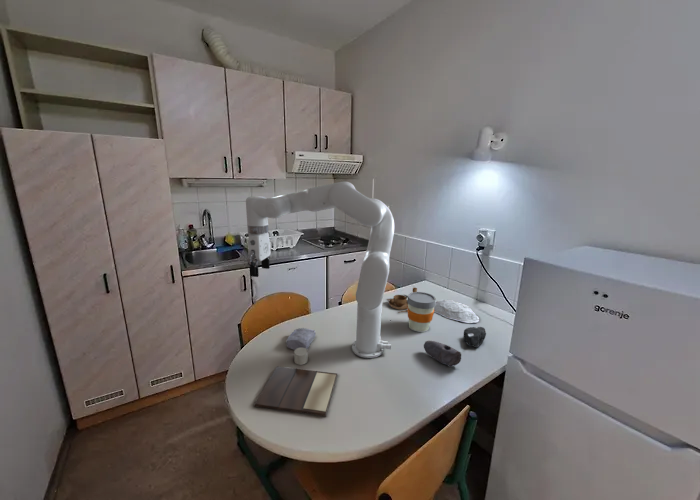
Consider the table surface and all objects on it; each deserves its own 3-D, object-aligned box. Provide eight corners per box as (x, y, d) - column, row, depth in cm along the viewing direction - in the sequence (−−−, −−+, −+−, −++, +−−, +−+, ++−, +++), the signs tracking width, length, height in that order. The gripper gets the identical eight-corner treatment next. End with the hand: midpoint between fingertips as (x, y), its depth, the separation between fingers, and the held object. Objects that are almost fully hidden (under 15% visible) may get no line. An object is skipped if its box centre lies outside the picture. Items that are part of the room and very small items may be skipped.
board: (337, 375, 104) (337, 373, 104) (325, 416, 87) (325, 413, 86) (277, 368, 107) (277, 365, 107) (254, 406, 90) (254, 403, 89)
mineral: (491, 349, 122) (493, 336, 120) (469, 349, 122) (471, 336, 120) (480, 336, 132) (482, 324, 130) (460, 336, 132) (461, 324, 130)
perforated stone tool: (419, 353, 118) (421, 337, 116) (427, 348, 122) (429, 333, 120) (453, 372, 107) (455, 356, 105) (461, 367, 111) (463, 350, 109)
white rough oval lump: (471, 326, 139) (473, 312, 138) (424, 310, 156) (425, 298, 155) (484, 318, 150) (485, 305, 149) (438, 304, 167) (439, 293, 166)
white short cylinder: (309, 357, 114) (309, 348, 113) (305, 365, 109) (305, 356, 108) (296, 355, 114) (296, 346, 113) (292, 364, 110) (292, 354, 109)
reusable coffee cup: (422, 337, 130) (425, 305, 126) (399, 325, 139) (402, 296, 135) (438, 328, 138) (441, 298, 134) (416, 317, 147) (418, 289, 143)
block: (285, 352, 119) (308, 351, 117) (282, 341, 118) (306, 340, 116) (296, 337, 131) (317, 336, 128) (294, 327, 130) (315, 326, 127)
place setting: (382, 299, 166) (383, 290, 164) (414, 296, 172) (415, 286, 170) (396, 314, 150) (397, 303, 148) (431, 309, 156) (432, 299, 154)
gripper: (256, 234, 104) (259, 280, 108) (276, 226, 120) (278, 266, 125) (236, 233, 105) (240, 279, 109) (259, 225, 121) (261, 264, 126)
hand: (260, 272), depth 117 cm, fingers open, 9 cm apart
